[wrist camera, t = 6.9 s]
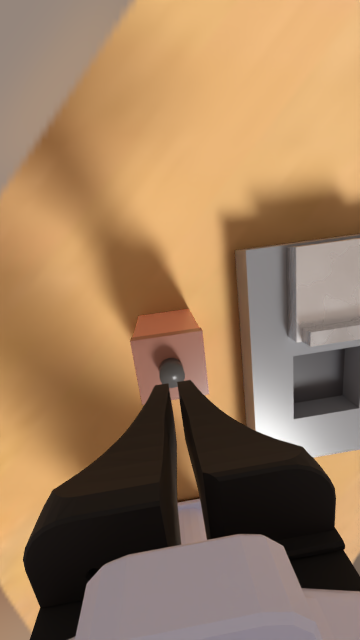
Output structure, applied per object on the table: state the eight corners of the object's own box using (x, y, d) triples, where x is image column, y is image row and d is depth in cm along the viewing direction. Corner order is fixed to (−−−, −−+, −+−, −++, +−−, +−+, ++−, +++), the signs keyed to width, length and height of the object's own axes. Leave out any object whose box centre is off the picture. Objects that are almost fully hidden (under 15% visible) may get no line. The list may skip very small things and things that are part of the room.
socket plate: (368, 425, 25) (391, 443, 23) (247, 445, 24) (257, 467, 22) (385, 230, 20) (416, 227, 18) (234, 250, 20) (245, 250, 17)
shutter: (370, 324, 19) (397, 333, 17) (288, 336, 19) (304, 347, 17) (377, 235, 18) (408, 233, 15) (286, 247, 17) (305, 246, 15)
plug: (194, 355, 22) (212, 402, 15) (146, 362, 21) (141, 414, 15) (189, 307, 20) (205, 335, 14) (137, 315, 20) (128, 347, 14)
